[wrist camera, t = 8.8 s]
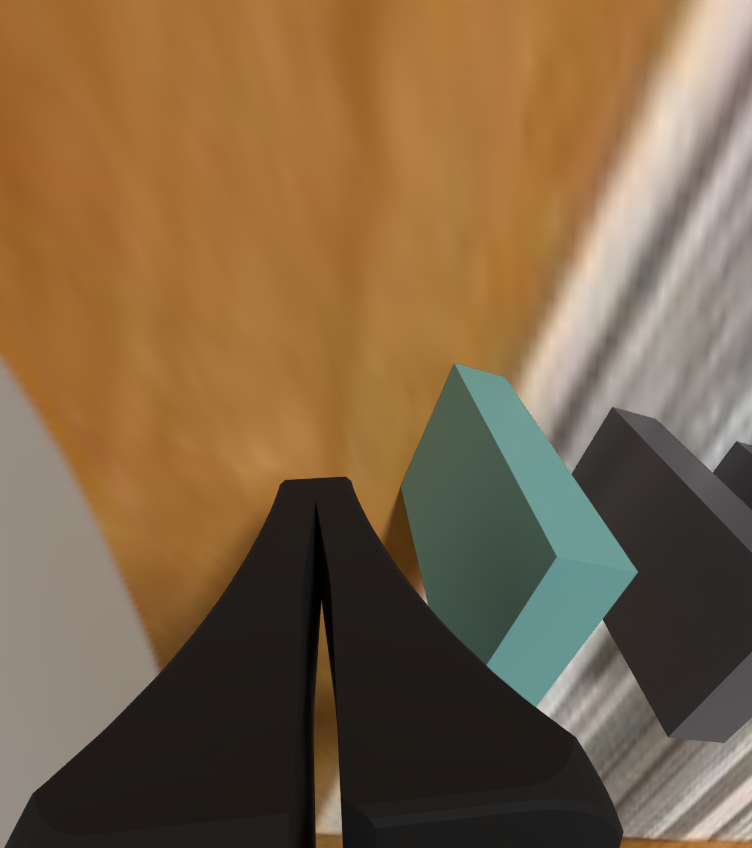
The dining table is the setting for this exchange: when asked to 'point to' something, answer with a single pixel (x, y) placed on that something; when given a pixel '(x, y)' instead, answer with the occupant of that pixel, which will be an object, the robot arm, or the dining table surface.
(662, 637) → the tile
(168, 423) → the dining table surface
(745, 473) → the tile
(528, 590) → the tile
